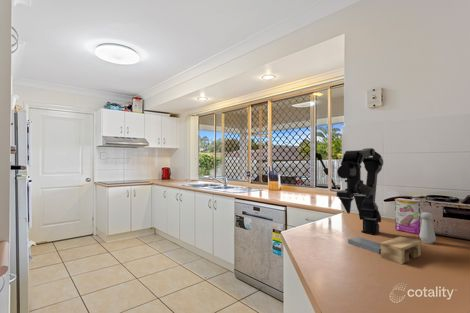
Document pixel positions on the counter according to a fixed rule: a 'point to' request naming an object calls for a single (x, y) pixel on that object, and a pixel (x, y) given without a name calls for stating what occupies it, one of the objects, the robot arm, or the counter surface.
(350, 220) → the counter surface
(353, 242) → the slate tile
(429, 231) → the salt shaker
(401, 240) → the oak block
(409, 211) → the candy bar box
